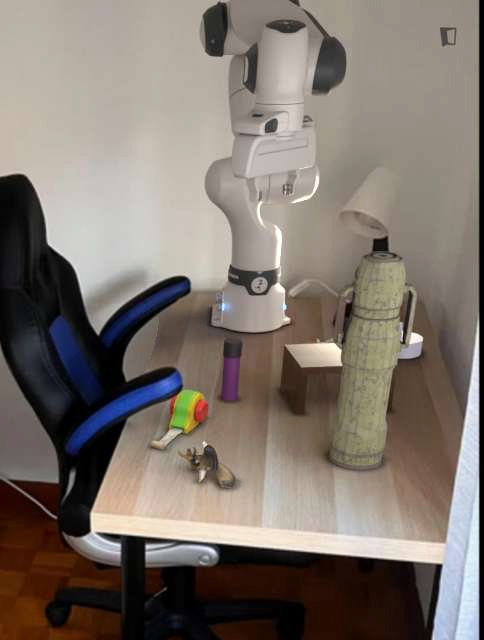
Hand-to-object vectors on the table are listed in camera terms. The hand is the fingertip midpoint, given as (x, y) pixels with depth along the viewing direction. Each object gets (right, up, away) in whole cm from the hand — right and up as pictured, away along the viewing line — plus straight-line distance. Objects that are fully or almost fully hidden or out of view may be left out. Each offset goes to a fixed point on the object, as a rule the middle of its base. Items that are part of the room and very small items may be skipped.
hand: (271, 197), depth 183 cm
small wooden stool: (+14, -38, +7) cm, 41 cm away
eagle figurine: (-16, -54, -21) cm, 60 cm away
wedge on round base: (+34, -24, +31) cm, 52 cm away
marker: (-6, -37, +9) cm, 39 cm away
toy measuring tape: (-18, -44, -4) cm, 48 cm away
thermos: (+10, -50, -16) cm, 54 cm away
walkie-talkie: (+22, -27, +26) cm, 44 cm away
